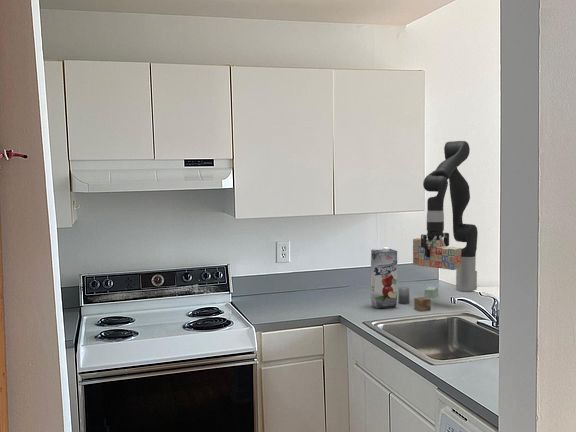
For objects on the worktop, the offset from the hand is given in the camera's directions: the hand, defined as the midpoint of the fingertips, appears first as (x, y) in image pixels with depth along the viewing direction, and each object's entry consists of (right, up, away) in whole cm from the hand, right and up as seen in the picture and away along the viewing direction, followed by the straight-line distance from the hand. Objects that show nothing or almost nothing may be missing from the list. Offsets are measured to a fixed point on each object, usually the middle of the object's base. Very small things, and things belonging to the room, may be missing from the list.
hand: (434, 256), depth 271 cm
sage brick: (+3, -20, +18) cm, 28 cm away
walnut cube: (-8, -23, -8) cm, 25 cm away
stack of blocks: (+1, -5, 0) cm, 5 cm away
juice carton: (-23, -23, -2) cm, 33 cm away
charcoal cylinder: (-13, -22, +5) cm, 26 cm away
